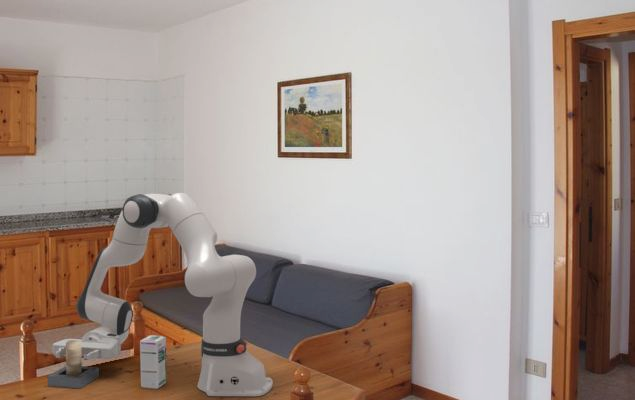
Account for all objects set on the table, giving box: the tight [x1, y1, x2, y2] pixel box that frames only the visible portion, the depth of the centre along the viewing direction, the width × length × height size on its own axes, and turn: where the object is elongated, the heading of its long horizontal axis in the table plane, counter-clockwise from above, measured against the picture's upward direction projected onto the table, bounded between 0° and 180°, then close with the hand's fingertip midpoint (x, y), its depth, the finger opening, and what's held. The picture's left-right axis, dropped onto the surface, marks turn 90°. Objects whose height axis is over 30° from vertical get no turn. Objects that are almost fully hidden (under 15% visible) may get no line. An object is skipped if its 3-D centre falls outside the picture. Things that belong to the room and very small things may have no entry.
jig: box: [47, 365, 100, 390], centre depth 191 cm, size 11×11×3 cm
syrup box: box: [139, 334, 168, 390], centre depth 189 cm, size 6×6×14 cm
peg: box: [65, 341, 83, 376], centre depth 191 cm, size 4×4×12 cm
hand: (71, 356), depth 190 cm, fingers open, 8 cm apart
